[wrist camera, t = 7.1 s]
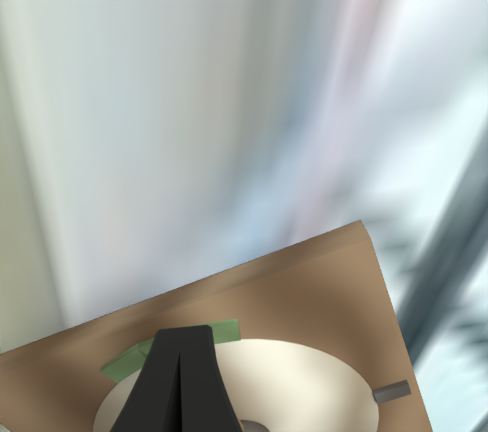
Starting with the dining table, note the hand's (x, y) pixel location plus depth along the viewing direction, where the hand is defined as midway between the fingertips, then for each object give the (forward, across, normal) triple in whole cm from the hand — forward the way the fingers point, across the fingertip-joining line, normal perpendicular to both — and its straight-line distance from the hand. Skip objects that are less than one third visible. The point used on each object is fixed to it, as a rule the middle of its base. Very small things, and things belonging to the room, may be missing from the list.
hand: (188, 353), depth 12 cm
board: (+9, -1, +17) cm, 19 cm away
